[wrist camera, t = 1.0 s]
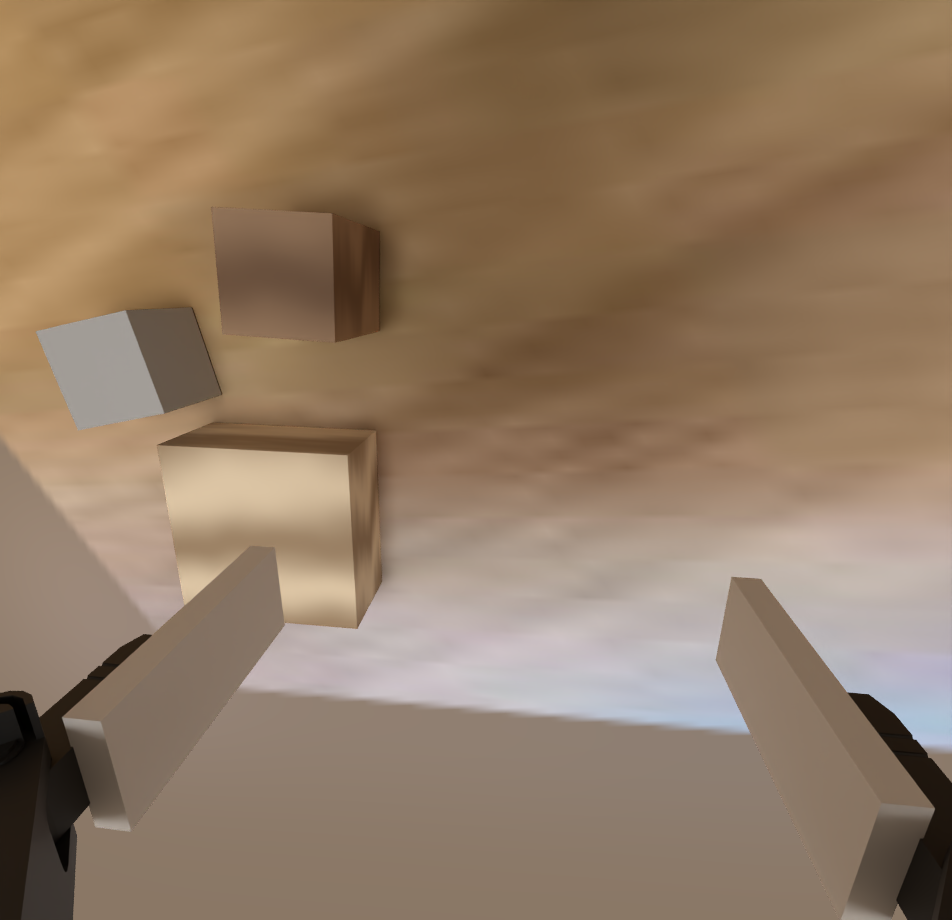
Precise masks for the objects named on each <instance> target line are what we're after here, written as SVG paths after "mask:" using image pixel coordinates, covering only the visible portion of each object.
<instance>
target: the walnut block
mask: <svg viewBox="0 0 952 920" xmlns="http://www.w3.org/2000/svg"><path fill="white" fill-rule="evenodd" d="M211 209H212V220H213V232H214V243H215V254H216V266H217V277H218V288H219V299H220V311H221V322H222V333H223V334H226V335H240V336H253V337H267V338H280V339H294V340H307V341H321V342H334V343H335V342H339V341H343V340H347V339H351V338H355V337H359V336H363V335H367V334H371V333H374V332H378V331H379V237H380V232H379V231H376V230H374V229H371V228H369V227H366V226H364V225H361V224H358V223H356V222H353V221H351V220H348V219H345V218H343V217H340V216H338V215H335V214H333V213H317V212H298V211H279V210H261V209H242V208H223V207H211Z"/></svg>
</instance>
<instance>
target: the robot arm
mask: <svg viewBox="0 0 952 920" xmlns="http://www.w3.org/2000/svg"><path fill="white" fill-rule="evenodd" d="M284 625H285V623H284V615H283V607H282V600H281V592H280V584H279V576H278V568H277V560H276V552H275V547H263V546H250V547H249V548H248V549H247V550H245V551H244V552H243V553H242V554H241V555H240V556H239V557H238V558H237V559H236V560H234V561H233V562H232V563H231V564H230V565H229V566H228V567H227V568H226V569H225V570H223V571H222V572H221V573H220V574H219V575H218V576H217V577H216V578H215V579H214V580H212V581H211V582H210V583H209V584H208V585H207V586H206V587H205V588H204V589H203V590H201V591H200V592H199V593H198V594H197V595H196V596H195V597H194V598H193V599H192V600H190V601H189V602H188V603H187V604H186V605H185V606H184V607H183V608H182V609H181V610H179V611H178V612H177V613H176V614H175V615H174V616H173V617H172V618H171V619H170V620H168V621H167V622H166V623H165V624H164V625H163V626H162V627H161V628H160V629H159V630H158V631H156V632H155V633H154V634H153V635H147V634H143V635H142V636H140V637H138V638H136V639H134V640H133V641H131V642H129V643H127V644H125V645H124V646H122V647H120V648H119V649H118V650H117V651H116V652H114V653H113V654H112V655H111V656H110V657H109V658H107V659H106V660H105V661H104V662H103V664H102V666H98V667H97V668H96V669H95V670H94V671H92V672H91V673H90V674H89V675H88V677H87V679H83V680H82V681H81V682H80V683H79V684H78V685H77V686H75V687H74V688H73V689H72V690H71V691H69V692H68V693H67V694H66V695H65V696H64V697H63V698H62V699H60V700H59V701H58V702H57V703H56V704H55V705H53V706H52V707H51V708H50V709H49V710H48V711H46V712H45V713H44V714H43V715H42V716H41V717H40V718H39V716H38V713H37V710H36V707H35V704H34V701H33V697H32V695H31V694H29V693H26V692H24V691H8V692H4V693H0V920H73V904H74V885H75V865H76V845H77V834H76V831H75V827H74V824H73V823H74V822H75V821H76V820H77V818H78V817H79V816H80V815H81V814H82V812H83V811H84V810H85V809H86V808H87V807H88V806H89V807H90V811H91V814H92V817H93V820H94V823H95V827H99V828H106V829H114V830H122V831H130V832H131V831H132V830H133V829H134V827H135V826H136V825H137V823H138V822H139V821H140V819H141V818H142V817H143V815H144V814H145V813H146V811H147V810H148V809H149V807H150V806H151V804H152V803H153V802H154V800H155V799H156V798H157V796H158V795H159V794H160V792H161V791H162V790H163V788H164V787H165V786H166V784H167V783H168V782H169V780H170V779H171V778H172V776H173V775H174V773H175V772H176V771H177V770H178V768H179V767H180V765H181V764H182V763H183V761H184V760H185V759H186V757H187V756H188V755H189V753H190V752H191V751H192V749H193V748H194V746H195V745H196V744H197V742H198V741H199V740H200V738H201V737H202V736H203V734H204V733H205V732H206V730H207V729H208V728H209V726H210V725H211V724H212V722H213V721H214V720H215V718H216V717H217V716H218V714H219V713H220V712H221V710H222V709H223V707H224V706H225V705H226V704H227V702H228V701H229V699H230V698H231V697H232V695H233V694H234V693H235V691H236V690H237V689H238V687H239V686H240V685H241V683H242V682H243V681H244V679H245V678H246V677H247V675H248V674H249V673H250V671H251V670H252V669H253V667H254V666H255V664H256V663H257V662H258V660H259V659H260V658H261V656H262V655H263V654H264V652H265V651H266V650H267V648H268V647H269V646H270V644H271V643H272V642H273V640H274V639H275V638H276V636H277V635H278V634H279V632H280V631H281V629H282V628H283V627H284ZM716 661H717V664H718V666H719V668H720V670H721V672H722V674H723V676H724V678H725V680H726V682H727V685H728V687H729V689H730V691H731V693H732V695H733V697H734V699H735V701H736V704H737V706H738V708H739V710H740V712H741V714H742V716H743V718H744V720H745V722H746V725H747V727H748V729H749V731H750V733H751V735H752V737H753V739H754V741H755V743H756V746H757V748H758V750H759V752H760V754H761V756H762V758H763V760H764V762H765V764H766V767H767V768H768V771H769V773H770V775H771V777H772V779H773V781H774V783H775V786H776V788H777V790H778V791H779V794H780V796H781V798H782V800H783V802H784V805H785V807H786V809H787V811H788V813H789V815H790V817H791V819H792V821H793V823H794V825H795V828H796V830H797V832H798V834H799V836H800V838H801V840H802V842H803V845H804V846H805V849H806V851H807V853H808V855H809V857H810V859H811V861H812V863H813V866H814V868H815V870H816V872H817V874H818V876H819V878H820V880H821V882H822V885H823V887H824V889H825V891H826V893H827V895H828V897H829V899H830V901H831V903H832V905H833V908H834V909H835V912H836V914H837V916H838V918H839V920H891V919H892V917H893V914H894V911H895V909H896V906H897V904H899V906H900V908H901V909H902V911H903V913H904V914H905V916H906V918H907V920H952V783H951V781H950V780H949V779H948V778H947V777H946V775H945V774H944V773H943V772H942V771H941V770H940V768H939V767H938V766H937V764H936V763H935V762H934V761H933V760H932V759H931V758H928V755H927V752H926V751H925V750H924V749H923V748H922V746H921V745H920V744H919V743H918V742H917V740H913V738H912V734H911V733H910V732H909V731H908V730H907V728H906V727H905V726H904V725H903V724H902V722H901V721H900V720H899V719H898V718H897V716H896V715H895V714H894V713H893V712H891V711H890V710H889V709H887V708H886V707H885V706H883V705H882V704H881V703H879V702H878V701H877V700H875V699H874V698H873V697H871V696H870V695H869V694H858V693H847V692H846V690H845V689H844V688H843V686H842V685H841V684H840V683H839V681H838V680H837V679H836V677H835V676H834V675H833V673H832V672H831V671H830V669H829V668H828V667H827V665H826V664H825V663H824V661H823V660H822V659H821V658H820V656H819V655H818V654H817V652H816V651H815V650H814V648H813V647H812V646H811V644H810V643H809V642H808V640H807V639H806V638H805V636H804V635H803V634H802V632H801V631H800V630H799V629H798V627H797V626H796V625H795V623H794V622H793V621H792V619H791V618H790V617H789V615H788V614H787V613H786V611H785V610H784V609H783V607H782V606H781V605H780V603H779V602H778V601H777V600H776V598H775V597H774V596H773V594H772V593H771V592H770V590H769V589H768V588H767V586H766V585H765V584H764V582H763V581H762V580H761V579H754V578H739V577H731V583H730V588H729V593H728V599H727V604H726V609H725V614H724V620H723V625H722V630H721V635H720V641H719V646H718V651H717V657H716Z"/></svg>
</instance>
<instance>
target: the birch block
mask: <svg viewBox="0 0 952 920" xmlns="http://www.w3.org/2000/svg"><path fill="white" fill-rule="evenodd" d="M157 449H158V455H159V461H160V467H161V473H162V478H163V484H164V490H165V496H166V502H167V508H168V513H169V519H170V525H171V531H172V537H173V542H174V548H175V554H176V560H177V566H178V571H179V577H180V583H181V589H182V595H183V601H184V606H185V605H186V604H187V603H188V602H189V601H190V600H192V599H193V598H194V597H195V596H196V595H197V594H198V593H199V592H200V591H201V590H203V589H204V588H205V587H206V586H207V585H208V584H209V583H210V582H211V581H212V580H214V579H215V578H216V577H217V576H218V575H219V574H220V573H221V572H222V571H223V570H225V569H226V568H227V567H228V566H229V565H230V564H231V563H232V562H233V561H234V560H236V559H237V558H238V557H239V556H240V555H241V554H242V553H243V552H244V551H245V550H247V549H248V548H249V547H250V546H263V547H275V552H276V560H277V568H278V576H279V584H280V592H281V600H282V607H283V615H284V623H294V624H306V625H318V626H330V627H342V628H353V629H357V628H358V626H359V624H360V623H361V621H362V619H363V617H364V615H365V613H366V611H367V609H368V607H369V605H370V604H371V602H372V600H373V598H374V596H375V594H376V592H377V590H378V588H379V586H380V585H381V583H382V570H381V545H380V519H379V493H378V467H377V441H376V430H357V429H337V428H316V427H295V426H275V425H254V424H234V423H211V424H208V425H206V426H203V427H201V428H198V429H196V430H193V431H191V432H188V433H186V434H183V435H181V436H178V437H176V438H173V439H171V440H168V441H166V442H163V443H161V444H159V445H157Z"/></svg>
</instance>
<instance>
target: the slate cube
mask: <svg viewBox="0 0 952 920" xmlns="http://www.w3.org/2000/svg"><path fill="white" fill-rule="evenodd" d="M36 334H37V336H38V338H39V341H40V343H41V345H42V347H43V350H44V352H45V354H46V357H47V359H48V361H49V364H50V366H51V368H52V371H53V373H54V375H55V378H56V380H57V382H58V385H59V387H60V389H61V392H62V394H63V396H64V399H65V401H66V403H67V406H68V408H69V410H70V413H71V415H72V417H73V420H74V422H75V424H76V427H77V429H78V430H82V429H87V428H92V427H98V426H103V425H108V424H113V423H118V422H123V421H128V420H133V419H138V418H143V417H149V416H154V415H159V414H164V413H167V412H170V411H173V410H176V409H179V408H182V407H185V406H188V405H191V404H195V403H198V402H201V401H204V400H207V399H210V398H213V397H216V396H219V395H222V394H221V391H220V389H219V386H218V383H217V380H216V377H215V374H214V371H213V368H212V365H211V362H210V359H209V357H208V354H207V351H206V348H205V345H204V342H203V339H202V336H201V333H200V330H199V327H198V324H197V322H196V319H195V316H194V313H193V310H192V307H189V308H167V309H145V310H125V311H121V312H116V313H112V314H108V315H104V316H99V317H95V318H91V319H86V320H82V321H78V322H74V323H69V324H65V325H61V326H57V327H52V328H48V329H44V330H40V331H36Z"/></svg>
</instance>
